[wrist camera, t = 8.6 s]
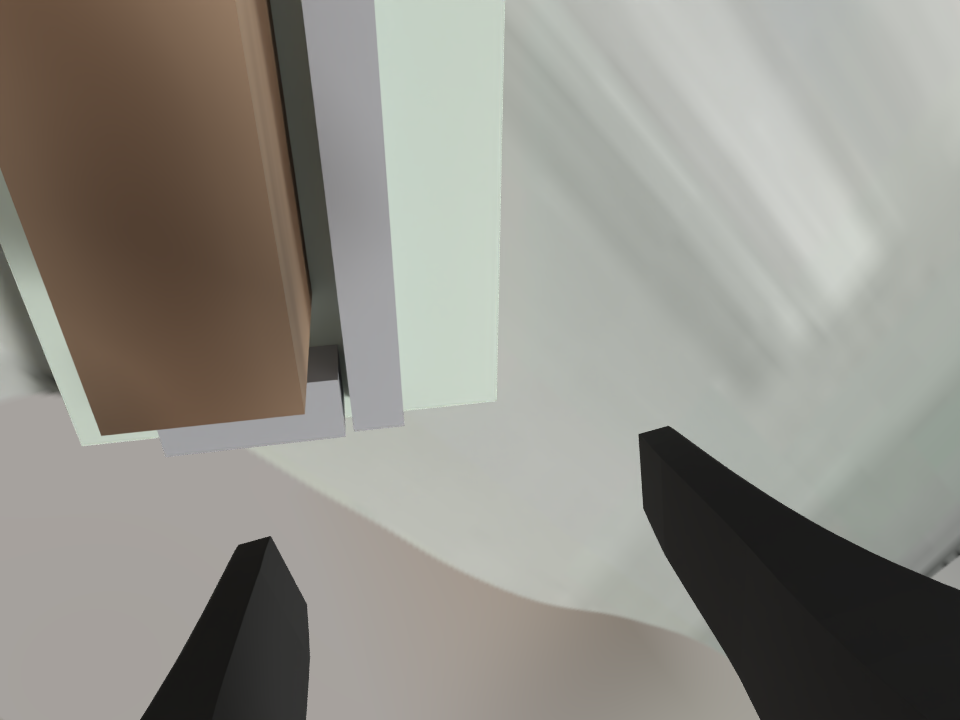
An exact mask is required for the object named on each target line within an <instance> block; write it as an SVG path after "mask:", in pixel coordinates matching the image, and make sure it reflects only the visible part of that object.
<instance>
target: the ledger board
mask: <svg viewBox="0 0 960 720" xmlns="http://www.w3.org/2000/svg"><path fill="white" fill-rule="evenodd" d="M270 4H271V11H272V18H273V25H274V32H275V39H276V46H277V52H278V59H279V66H280V73H281V80H282V87H283V94H284V101H285V108H286V115H287V122H288V129H289V136H290V143H291V150H292V157H293V164H294V171H295V177H296V184H297V191H298V198H299V205H300V212H301V219H302V226H303V233H304V240H305V247H306V254H307V261H308V268H309V275H310V282H311V289H312V305H311V322H310V338H309V355H308V371H307V388H306V404H305V414H303V415H293V416H284V417H275V418H265V419H256V420H247V421H237V422H228V423H219V424H209V425H200V426H191V427H181V428H172V429H162V430H153V431H144V432H134V433H125V434H116V435H106V436H101V434H100V431H99V428H98V426H97V423H96V421H95V418H94V415H93V413H92V410H91V407H90V405H89V402H88V399H87V397H86V394H85V391H84V389H83V386H82V383H81V381H80V378H79V376H78V373H77V370H76V368H75V365H74V362H73V360H72V357H71V354H70V352H69V349H68V346H67V344H66V341H65V338H64V336H63V333H62V330H61V328H60V325H59V323H58V320H57V317H56V315H55V312H54V309H53V307H52V304H51V301H50V299H49V296H48V293H47V291H46V288H45V285H44V283H43V280H42V278H41V275H40V272H39V270H38V267H37V264H36V262H35V259H34V256H33V254H32V251H31V248H30V246H29V243H28V240H27V238H26V235H25V233H24V230H23V227H22V225H21V222H20V219H19V217H18V214H17V211H16V209H15V206H14V203H13V201H12V198H11V195H10V193H9V190H8V188H7V185H6V182H5V180H4V177H3V174H2V172H1V169H0V244H1V247H2V249H3V252H4V254H5V257H6V259H7V262H8V264H9V267H10V269H11V272H12V274H13V277H14V279H15V281H16V284H17V286H18V289H19V291H20V294H21V296H22V299H23V301H24V304H25V306H26V309H27V311H28V314H29V316H30V319H31V321H32V324H33V326H34V329H35V331H36V334H37V336H38V339H39V341H40V344H41V346H42V349H43V351H44V354H45V356H46V359H47V361H48V364H49V366H50V369H51V371H52V374H53V376H54V379H55V381H56V384H57V386H58V388H59V391H60V393H61V396H62V398H63V401H64V403H65V406H66V408H67V411H68V413H69V416H70V418H71V421H72V423H73V426H74V428H75V431H76V433H77V436H78V438H79V441H80V443H81V446H88V445H98V444H107V443H116V442H126V441H134V440H144V439H153V438H160V441H161V444H162V447H163V451H164V454H165V456H166V457H170V456H179V455H188V454H196V453H205V452H214V451H223V450H232V449H241V448H250V447H258V446H267V445H276V444H285V443H294V442H302V441H311V440H320V439H329V438H338V437H346V434H345V418H346V417H352V419H353V428H354V431H363V430H372V429H381V428H390V427H399V426H404V414H403V411H410V410H420V409H429V408H438V407H447V406H456V405H466V404H475V403H484V402H493V401H497V357H498V309H499V260H500V212H501V164H502V116H503V68H504V19H505V0H270Z"/></svg>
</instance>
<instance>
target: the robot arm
mask: <svg viewBox="0 0 960 720" xmlns="http://www.w3.org/2000/svg"><path fill="white" fill-rule="evenodd" d="M639 449H640V464H641V479H642V495H643V509H644V511H645V513H646V515H647V518H648V520H649V522H650V524H651V526H652V529H653V531H654V533H655V535H656V537H657V539H658V541H659V544H660V546H661V548H662V550H663V552H664V554H665V556H666V558H667V559H668V561H669V563H670V564H671V566H672V567H673V569H674V571H675V572H676V574H677V576H678V577H679V579H680V581H681V582H682V584H683V585H684V587H685V589H686V590H687V592H688V594H689V595H690V597H691V598H692V600H693V602H694V603H695V605H696V606H697V608H698V610H699V611H700V613H701V615H702V616H703V618H704V619H705V621H706V623H707V624H708V626H709V627H710V629H711V631H712V632H713V634H714V635H715V637H716V639H717V640H718V642H719V644H720V645H721V647H722V648H723V650H724V652H725V653H726V655H727V657H728V658H729V660H730V662H731V664H732V665H733V667H734V669H735V671H736V672H737V674H738V676H739V678H740V680H741V682H742V683H743V686H744V688H745V690H746V692H747V694H748V696H749V698H750V700H751V702H752V704H753V706H754V708H755V710H756V712H757V714H758V716H759V718H760V720H960V590H958V589H956V588H953V587H951V586H948V585H945V584H943V583H940V582H938V581H936V580H933V579H931V578H929V577H926V576H924V575H922V574H919V573H917V572H914V571H912V570H910V569H907V568H905V567H903V566H900V565H898V564H896V563H893V562H891V561H889V560H887V559H885V558H882V557H880V556H878V555H876V554H874V553H872V552H870V551H868V550H866V549H864V548H862V547H860V546H858V545H856V544H854V543H852V542H850V541H848V540H846V539H844V538H842V537H840V536H838V535H836V534H834V533H832V532H830V531H828V530H826V529H825V528H823V527H821V526H819V525H817V524H816V523H814V522H812V521H810V520H809V519H807V518H805V517H804V516H802V515H800V514H798V513H797V512H795V511H793V510H792V509H790V508H788V507H787V506H785V505H783V504H782V503H780V502H779V501H777V500H775V499H774V498H772V497H771V496H769V495H767V494H766V493H764V492H763V491H761V490H760V489H758V488H757V487H755V486H754V485H752V484H751V483H749V482H748V481H746V480H745V479H743V478H742V477H740V476H739V475H737V474H736V473H734V472H733V471H731V470H730V469H728V468H727V467H725V466H724V465H723V464H721V463H720V462H718V461H717V460H716V459H714V458H713V457H711V456H710V455H709V454H707V453H706V452H704V451H703V450H702V449H700V448H699V447H698V446H696V445H695V444H693V443H692V442H691V441H689V440H688V439H687V438H685V437H684V436H683V435H681V434H680V433H678V432H677V431H676V430H674V429H673V428H671V427H669V426H666V427H663V428H659V429H656V430H652V431H648V432H645V433H641V434H639ZM309 651H310V650H309V629H308V615H307V604H306V602H305V600H304V598H303V596H302V594H301V592H300V591H299V589H298V587H297V585H296V583H295V581H294V579H293V577H292V575H291V574H290V572H289V570H288V568H287V566H286V564H285V562H284V560H283V558H282V556H281V555H280V553H279V551H278V549H277V547H276V545H275V543H274V541H273V539H272V538H271V536H269V537H265V538H262V539H258V540H255V541H251V542H248V543H244V544H240V545H238V547H237V548H236V550H235V551H234V553H233V555H232V557H231V559H230V561H229V563H228V565H227V567H226V569H225V571H224V573H223V575H222V577H221V579H220V581H219V582H218V585H217V586H216V588H215V590H214V592H213V594H212V596H211V598H210V600H209V602H208V604H207V606H206V607H205V610H204V611H203V613H202V615H201V617H200V619H199V621H198V622H197V624H196V626H195V628H194V630H193V631H192V634H191V635H190V637H189V639H188V641H187V642H186V644H185V646H184V648H183V650H182V652H181V653H180V655H179V657H178V659H177V660H176V662H175V664H174V665H173V667H172V669H171V670H170V672H169V674H168V675H167V677H166V679H165V680H164V682H163V684H162V685H161V687H160V689H159V691H158V692H157V694H156V695H155V697H154V699H153V700H152V702H151V703H150V705H149V707H148V708H147V710H146V711H145V713H144V715H143V716H142V718H141V719H140V720H306V711H307V697H308V696H307V695H308V681H309V663H310V652H309Z"/></svg>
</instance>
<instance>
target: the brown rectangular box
mask: <svg viewBox="0 0 960 720" xmlns="http://www.w3.org/2000/svg"><path fill="white" fill-rule="evenodd" d="M0 169H1V172H2V174H3V177H4V180H5V182H6V185H7V188H8V190H9V193H10V195H11V198H12V201H13V203H14V206H15V209H16V211H17V214H18V217H19V219H20V222H21V225H22V227H23V230H24V233H25V235H26V238H27V240H28V243H29V246H30V248H31V251H32V254H33V256H34V259H35V262H36V264H37V267H38V270H39V272H40V275H41V278H42V280H43V283H44V285H45V288H46V291H47V293H48V296H49V299H50V301H51V304H52V307H53V309H54V312H55V315H56V317H57V320H58V323H59V325H60V328H61V330H62V333H63V336H64V338H65V341H66V344H67V346H68V349H69V352H70V354H71V357H72V360H73V362H74V365H75V368H76V370H77V373H78V376H79V378H80V381H81V383H82V386H83V389H84V391H85V394H86V397H87V399H88V402H89V405H90V407H91V410H92V413H93V415H94V418H95V421H96V423H97V426H98V428H99V431H100V434H101V436H106V435H116V434H125V433H134V432H144V431H153V430H162V429H172V428H181V427H191V426H200V425H209V424H219V423H228V422H237V421H247V420H256V419H265V418H275V417H284V416H293V415H303V414H305V404H306V388H307V371H308V355H309V338H310V322H311V305H312V289H311V282H310V275H309V268H308V261H307V254H306V247H305V240H304V233H303V226H302V219H301V212H300V205H299V198H298V191H297V184H296V177H295V171H294V164H293V157H292V150H291V143H290V136H289V129H288V122H287V115H286V108H285V101H284V94H283V87H282V80H281V73H280V66H279V59H278V52H277V46H276V39H275V32H274V25H273V18H272V11H271V4H270V0H0Z"/></svg>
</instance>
